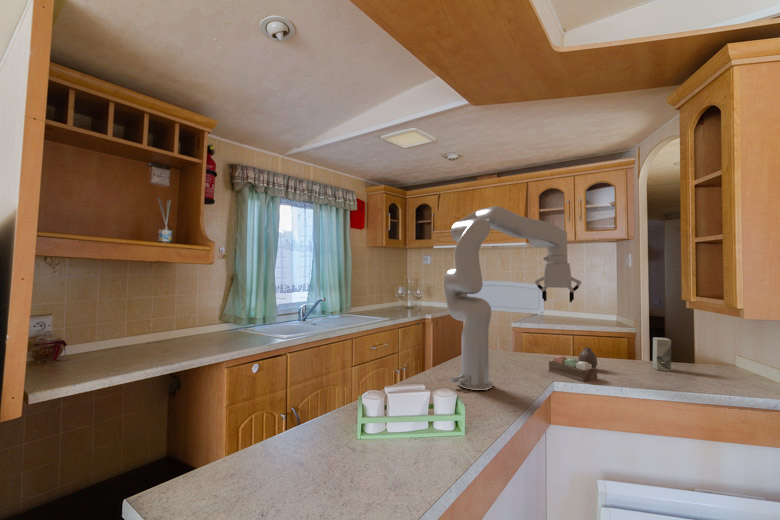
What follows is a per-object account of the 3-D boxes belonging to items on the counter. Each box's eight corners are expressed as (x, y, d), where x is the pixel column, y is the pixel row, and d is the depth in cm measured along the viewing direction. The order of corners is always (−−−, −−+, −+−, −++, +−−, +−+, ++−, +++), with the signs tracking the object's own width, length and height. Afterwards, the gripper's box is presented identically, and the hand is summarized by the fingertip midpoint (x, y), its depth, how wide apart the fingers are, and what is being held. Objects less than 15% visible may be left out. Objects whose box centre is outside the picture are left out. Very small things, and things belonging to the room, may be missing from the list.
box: (656, 370, 146) (656, 339, 147) (652, 367, 151) (651, 337, 151) (672, 371, 145) (671, 339, 145) (667, 368, 149) (666, 337, 149)
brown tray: (583, 382, 132) (583, 371, 132) (548, 371, 145) (548, 361, 145) (597, 379, 135) (596, 368, 136) (562, 368, 149) (562, 359, 149)
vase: (574, 368, 150) (574, 347, 150) (585, 366, 153) (585, 345, 153) (589, 372, 144) (589, 350, 144) (601, 370, 147) (600, 349, 147)
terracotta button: (562, 365, 142) (562, 358, 142) (553, 363, 146) (553, 356, 146) (568, 364, 144) (568, 357, 144) (560, 362, 147) (560, 355, 147)
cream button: (585, 372, 134) (584, 364, 134) (575, 369, 137) (575, 362, 137) (591, 370, 135) (591, 363, 135) (582, 368, 139) (582, 360, 139)
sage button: (573, 368, 138) (573, 361, 138) (564, 366, 141) (564, 359, 141) (579, 367, 140) (579, 360, 140) (570, 365, 143) (570, 357, 143)
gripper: (533, 260, 149) (534, 301, 148) (580, 259, 140) (581, 303, 140) (536, 260, 155) (536, 299, 155) (581, 259, 146) (582, 301, 146)
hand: (557, 301), depth 147 cm, fingers open, 9 cm apart
